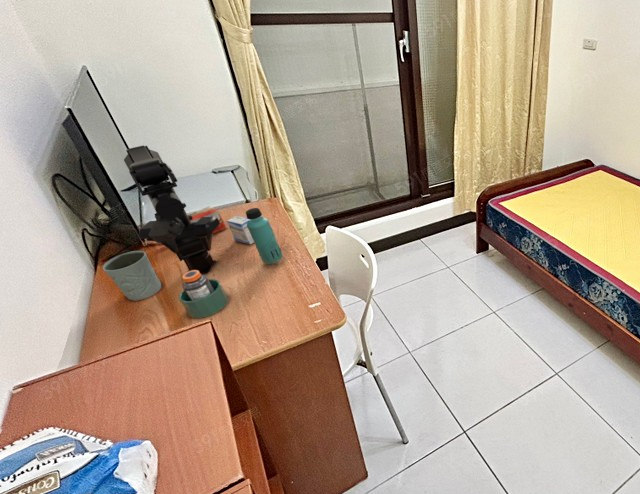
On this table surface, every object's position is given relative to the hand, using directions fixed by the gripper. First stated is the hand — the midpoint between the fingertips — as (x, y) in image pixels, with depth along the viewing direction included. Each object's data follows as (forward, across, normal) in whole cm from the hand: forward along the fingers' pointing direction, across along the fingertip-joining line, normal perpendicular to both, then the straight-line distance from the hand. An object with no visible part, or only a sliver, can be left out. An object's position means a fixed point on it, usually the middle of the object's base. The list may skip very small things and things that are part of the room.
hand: (193, 251), depth 118 cm
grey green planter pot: (+13, -20, 0) cm, 24 cm away
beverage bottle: (+13, +15, +10) cm, 23 cm away
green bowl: (+13, +4, -10) cm, 17 cm away
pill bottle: (+12, +4, -10) cm, 16 cm away
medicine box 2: (+13, 0, +26) cm, 29 cm away
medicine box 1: (+13, -20, +33) cm, 41 cm away
